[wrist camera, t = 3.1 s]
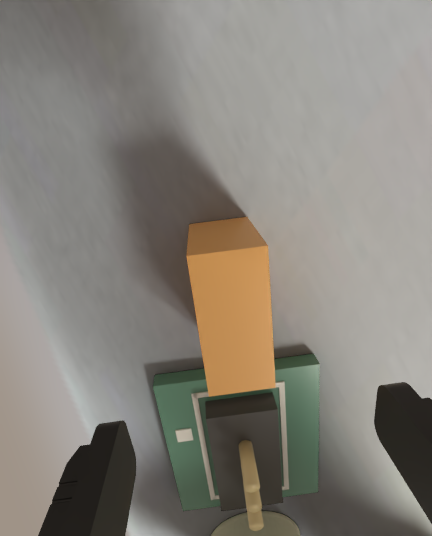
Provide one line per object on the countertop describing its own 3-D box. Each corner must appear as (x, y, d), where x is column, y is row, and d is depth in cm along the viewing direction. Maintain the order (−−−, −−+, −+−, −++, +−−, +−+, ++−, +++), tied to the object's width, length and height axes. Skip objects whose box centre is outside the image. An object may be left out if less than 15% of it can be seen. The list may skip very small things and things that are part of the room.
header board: (313, 353, 23) (348, 416, 18) (313, 478, 28) (340, 556, 23) (154, 374, 23) (142, 444, 18) (183, 496, 28) (180, 579, 23)
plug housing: (247, 216, 19) (267, 245, 14) (255, 326, 22) (275, 387, 17) (189, 224, 19) (186, 256, 14) (205, 333, 22) (208, 396, 17)
